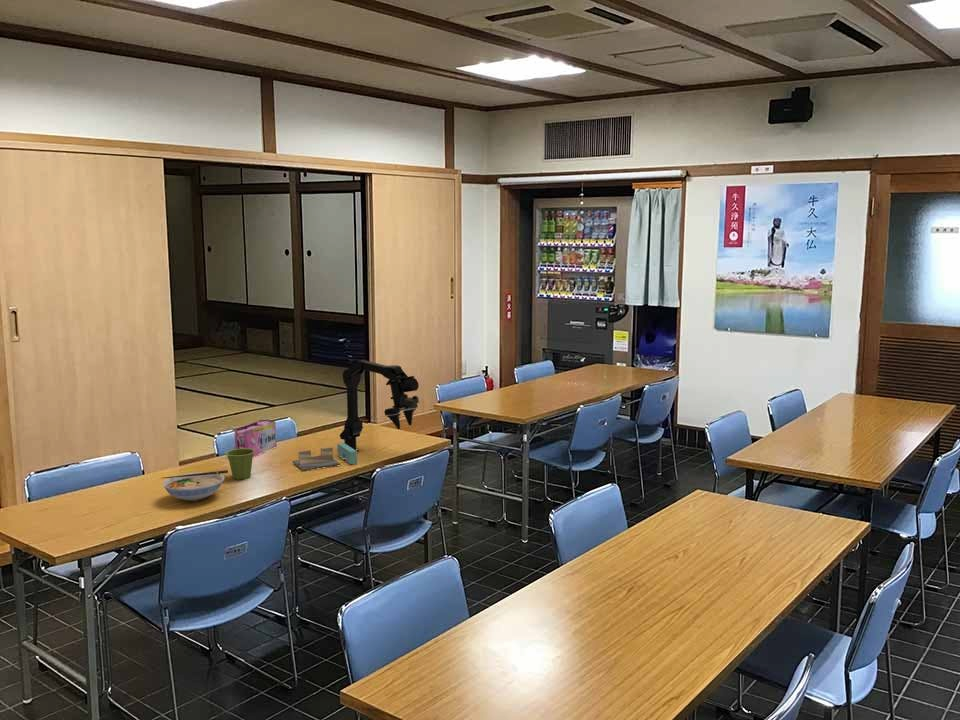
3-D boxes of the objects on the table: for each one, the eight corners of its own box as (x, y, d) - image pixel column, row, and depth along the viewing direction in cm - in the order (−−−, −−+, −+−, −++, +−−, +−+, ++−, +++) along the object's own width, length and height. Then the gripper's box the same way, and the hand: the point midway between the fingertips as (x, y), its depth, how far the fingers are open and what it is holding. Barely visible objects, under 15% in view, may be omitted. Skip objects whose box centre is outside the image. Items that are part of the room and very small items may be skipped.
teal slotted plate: (338, 456, 373) (337, 443, 372) (344, 455, 375) (343, 442, 374) (350, 465, 357) (350, 452, 357) (357, 464, 359) (356, 451, 358)
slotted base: (292, 463, 362) (292, 447, 361) (329, 457, 370) (328, 443, 369) (302, 471, 348) (301, 455, 347) (340, 465, 356) (339, 450, 355)
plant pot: (223, 482, 334) (222, 455, 333) (232, 474, 346) (230, 448, 345) (252, 481, 335) (250, 455, 333) (259, 473, 346) (258, 448, 345)
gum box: (247, 460, 369) (245, 431, 367) (233, 458, 372) (231, 430, 370) (277, 447, 392) (275, 420, 390) (263, 446, 394) (262, 419, 392)
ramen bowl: (157, 510, 299) (155, 489, 297) (164, 493, 320) (162, 473, 319) (227, 504, 305) (226, 483, 304) (229, 487, 327) (228, 467, 326)
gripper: (401, 394, 352) (407, 429, 352) (423, 388, 368) (430, 421, 369) (380, 397, 357) (387, 431, 358) (404, 391, 373) (410, 424, 374)
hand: (404, 427), depth 364 cm, fingers open, 9 cm apart
